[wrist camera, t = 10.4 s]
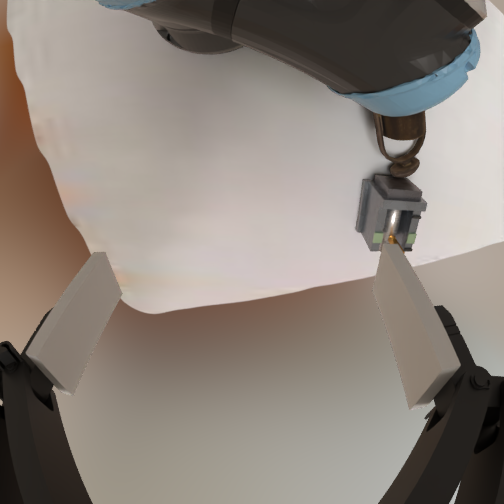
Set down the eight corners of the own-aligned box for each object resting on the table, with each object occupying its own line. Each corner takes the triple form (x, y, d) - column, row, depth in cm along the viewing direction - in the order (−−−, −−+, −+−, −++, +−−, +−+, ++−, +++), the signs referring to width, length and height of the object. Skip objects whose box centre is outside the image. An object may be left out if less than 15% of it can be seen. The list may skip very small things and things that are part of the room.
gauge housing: (362, 179, 36) (379, 199, 31) (409, 183, 36) (430, 203, 30) (355, 228, 41) (368, 255, 35) (399, 230, 40) (416, 255, 35)
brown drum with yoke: (451, 94, 23) (390, 76, 22) (442, 190, 30) (384, 189, 28) (415, 91, 30) (357, 78, 28) (410, 175, 36) (354, 174, 34)
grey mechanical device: (375, 174, 35) (397, 197, 28) (406, 177, 34) (432, 200, 28) (364, 239, 40) (379, 270, 34) (393, 239, 40) (412, 270, 34)
